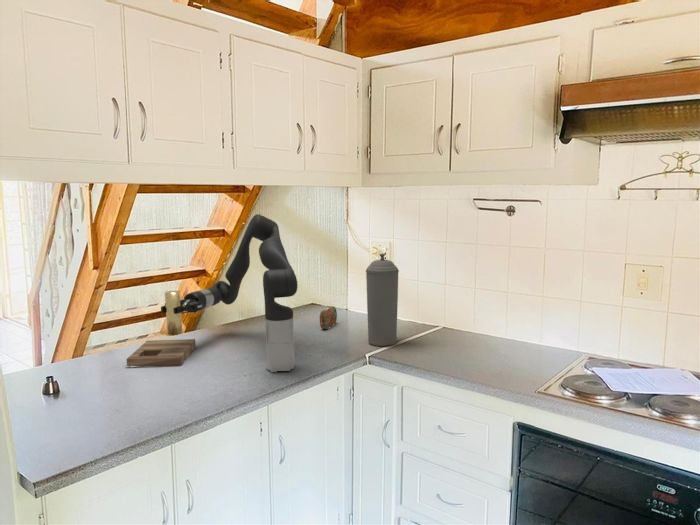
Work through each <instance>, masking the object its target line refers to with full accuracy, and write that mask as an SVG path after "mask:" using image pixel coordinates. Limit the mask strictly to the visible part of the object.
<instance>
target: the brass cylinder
mask: <svg viewBox="0 0 700 525" xmlns="http://www.w3.org/2000/svg"><path fill="white" fill-rule="evenodd" d="M180 292H181V291H179V290H169V291H165V292H164V300H165V303H164V305H165V304H166V312H165V314H166V316H165V317H166V318H165V319H166V330H167V331H166V332H167V335H168V336H178V335H179V336H180V335H181V334H183V322H182V321H183V320H182V312H181V313H178V314H174V308H175V307H178V306H181V303H180V299H181V293H180Z"/></svg>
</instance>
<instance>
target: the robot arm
mask: <svg viewBox="0 0 700 525" xmlns="http://www.w3.org/2000/svg"><path fill="white" fill-rule="evenodd" d="M243 234H244V235H243V236H242V239H241V241H240V244H239V246H238V248H237V251H236V253H235V256H234V258H233V259H232V261H231V263H230V265H229V267H228V269H227V270H226V273H225V274H224V276H225V278H226V280H227V282H228V283H227V282H226V281H224V280H218V281H216V282H214V284H213V285H212V286H210V287H208V288H205V289H199V290H196V291H191V292H188V293H187V294H185V296H184V297H183V298H180V303H181V306H178V307H175V308H174V314H178V313H181V314H182V313H186V312H188V313H191V314H192V313H193V314H194V313H195V314H196V313H198V312H201V311H203V310H206V309H208V308H209V307H212V306H216V305H218V304H219V303H220V302H222V303H224V304H225V305H228V306H229V305H233V303H234V302H236V300H237V299H238V298H237V297H238V295H239V291H240V287H241V284H242V281H243V279H244V278H245V276H246V274H247V273H248V271H249V268H250V264H251V259H250V258H251V257H250V245H251V242H252V239H253V238H255V239H256V240H259V241H261V243H260V244H259V247H258V255H259V259H260V262H261V264H262V266H264V267H265V268H266V270H265V271H264V272H263V274H262V286H263V287H262V288H263V295H264V296H263V297H264V298H263V299H264V321H265V322H264V323H265V348H266V349H265V353H266V354H265V355H266V359H265V360H266V370H267V369H268V371H269V370H270V373H278V372H277V371H289V372H290V371H292V370H293V369H295V336H294V335H295V334H294V333H295V332H294V310H293V309H292V308H291V307H290V306H286V305H282V304H281V303H278V302H276V300H275V299H278V298H279V299H280V298H289V297H293V296H295V295H296V293H297V291H298V288H299V287H298V286H299V285H298V279H297V275H296V273H295V271H294V268H293V267H292V265H291V263H290V262H289V260H288V256H287V254H286V250H285V248H284V245H283V243H282V239H281V235H280V230H279V225H278V223H277V222H275V220H272V219H270V218H268V217H266V216H264V215H262V214H259V213H258V214H257V213H256V214H255V215H254V216H253V217H252V218H251V219H250V221H249V223H248V225H247V227H246V229H245V232H244V233H243ZM160 313H163V314H164V313H166V304H165V303H164V305H163V306H161V307H160ZM291 369H292V370H291Z"/></svg>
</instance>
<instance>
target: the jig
mask: <svg viewBox="0 0 700 525" xmlns="http://www.w3.org/2000/svg"><path fill="white" fill-rule="evenodd" d="M196 345H197V344H196V338H194V339H193V338H190V339H188V338H187V339H186V338H185V339H162V340H161V339H159V340H158V339H157V340H146V341H145V342H144V343H142V344H141V345H140V346H139V347H138V348H137V349H136V350H135V351H134V352H133V353H132V354H130V355H129V356H128V357H127V358H126V367H127V366H160V367H180V366H179V365H182V366H183V364H184V363H185V362H184V361H187V359H188V358H189V356H190V355H191V353H192V352H193V351H194V350H195V348H196Z"/></svg>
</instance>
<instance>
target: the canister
mask: <svg viewBox="0 0 700 525" xmlns="http://www.w3.org/2000/svg"><path fill="white" fill-rule="evenodd" d="M378 255H379V256H380V259H376V260H373V261H372V262H370V264H369V265H368V266H367V267H366V270H365V273H366V274H365V275H366V278H365V279H366V304H367V305H366V306H367V307H366V310H367V311H366V312H367V335H368V336H367V338H368V339H367V340H368V343H370V345H372V346H379V347H388V346H392V345H395V344H396V343H397V333H398V332H397V331H398V302H399V301H398V300H399V299H398V298H399V295H398V294H399V272H400V270H399V268H398V266H397V265H396V264H395V263H394V262H393V261H391V260H389V259H385V256H386V255H387V254H386V253H379V254H378Z"/></svg>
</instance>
